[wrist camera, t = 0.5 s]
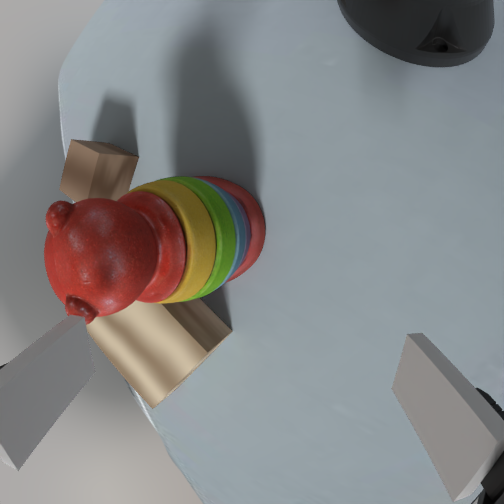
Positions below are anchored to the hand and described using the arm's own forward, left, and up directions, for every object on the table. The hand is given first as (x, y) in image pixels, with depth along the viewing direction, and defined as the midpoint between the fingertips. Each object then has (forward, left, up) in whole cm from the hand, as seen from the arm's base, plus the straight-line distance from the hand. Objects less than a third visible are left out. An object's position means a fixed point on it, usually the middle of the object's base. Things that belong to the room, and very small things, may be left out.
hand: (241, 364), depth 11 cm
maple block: (+18, -9, -16) cm, 25 cm away
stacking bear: (+4, -10, -17) cm, 20 cm away
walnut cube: (+8, -25, -16) cm, 31 cm away
